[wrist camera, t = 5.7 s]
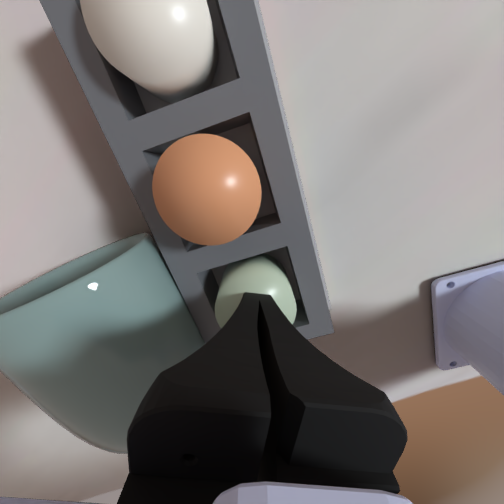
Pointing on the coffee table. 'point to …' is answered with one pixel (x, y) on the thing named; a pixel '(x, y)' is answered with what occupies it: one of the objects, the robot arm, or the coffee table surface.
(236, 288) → the pale green egg
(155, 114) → the gray compartment tray
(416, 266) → the coffee table surface
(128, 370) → the cup
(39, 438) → the coffee table surface
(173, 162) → the orange egg
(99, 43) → the white egg
